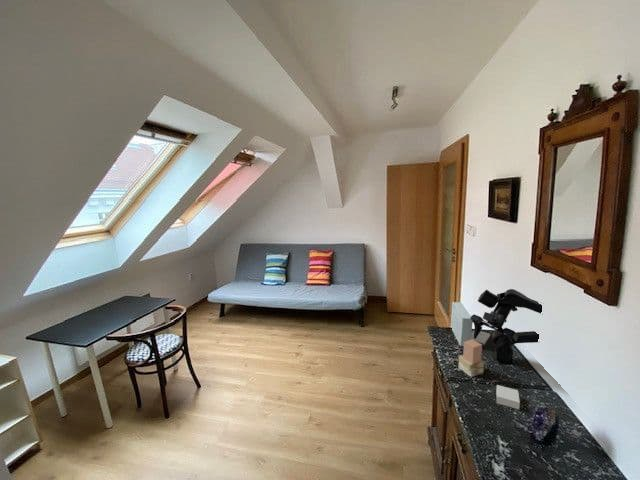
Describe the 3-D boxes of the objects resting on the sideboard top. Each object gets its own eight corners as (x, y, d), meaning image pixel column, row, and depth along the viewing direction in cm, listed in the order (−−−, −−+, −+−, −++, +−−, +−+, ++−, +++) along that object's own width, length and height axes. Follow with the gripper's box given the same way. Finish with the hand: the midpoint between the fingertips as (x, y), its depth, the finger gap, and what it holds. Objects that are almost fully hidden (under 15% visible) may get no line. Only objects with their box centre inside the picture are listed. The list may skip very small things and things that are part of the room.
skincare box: (471, 347, 144) (473, 318, 141) (460, 346, 145) (461, 318, 142) (460, 327, 164) (461, 301, 161) (450, 326, 165) (451, 301, 162)
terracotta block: (471, 355, 128) (472, 339, 127) (481, 361, 123) (482, 344, 122) (463, 357, 126) (463, 341, 125) (472, 364, 122) (473, 347, 120)
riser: (496, 391, 113) (496, 384, 112) (517, 397, 109) (517, 390, 109) (496, 403, 107) (497, 396, 107) (519, 409, 104) (519, 402, 103)
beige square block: (471, 358, 130) (472, 353, 130) (483, 368, 123) (483, 361, 123) (458, 361, 129) (458, 355, 128) (469, 371, 122) (469, 364, 121)
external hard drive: (466, 340, 150) (473, 331, 159) (483, 346, 145) (490, 336, 153) (466, 338, 150) (474, 329, 159) (483, 343, 144) (490, 333, 153)
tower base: (470, 364, 131) (470, 358, 130) (483, 373, 124) (483, 367, 124) (458, 368, 129) (458, 362, 128) (470, 377, 122) (471, 371, 122)
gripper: (474, 298, 131) (457, 326, 129) (517, 314, 116) (500, 346, 113) (482, 309, 137) (467, 336, 134) (525, 325, 121) (508, 356, 119)
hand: (484, 343), depth 125 cm, fingers open, 9 cm apart
